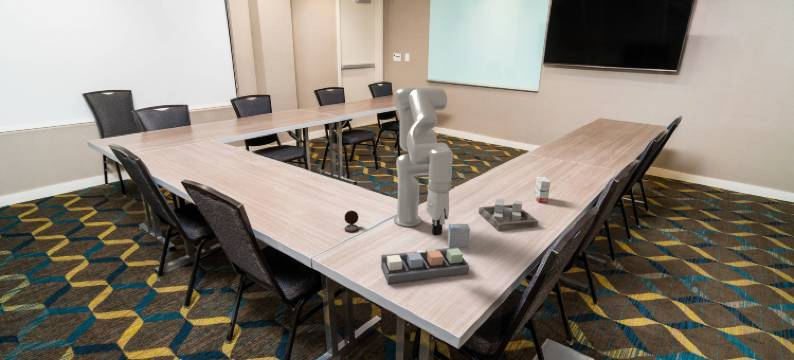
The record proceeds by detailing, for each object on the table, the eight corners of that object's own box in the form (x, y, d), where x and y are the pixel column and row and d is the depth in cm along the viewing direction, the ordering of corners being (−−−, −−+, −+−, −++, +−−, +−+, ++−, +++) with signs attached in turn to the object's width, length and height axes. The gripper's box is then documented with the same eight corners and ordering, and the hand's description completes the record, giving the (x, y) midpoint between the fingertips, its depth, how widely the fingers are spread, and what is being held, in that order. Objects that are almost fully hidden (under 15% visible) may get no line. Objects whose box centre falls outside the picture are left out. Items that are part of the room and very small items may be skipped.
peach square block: (427, 259, 146) (427, 251, 145) (438, 258, 147) (438, 250, 146) (430, 265, 142) (431, 257, 141) (442, 264, 143) (443, 256, 142)
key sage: (446, 257, 147) (446, 249, 146) (457, 255, 149) (458, 248, 147) (450, 263, 143) (451, 255, 142) (462, 262, 144) (462, 254, 143)
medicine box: (466, 242, 165) (468, 223, 162) (468, 247, 161) (470, 228, 158) (447, 242, 165) (448, 223, 162) (448, 247, 161) (450, 228, 158)
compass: (344, 233, 171) (344, 217, 168) (344, 225, 178) (344, 210, 176) (363, 232, 172) (363, 217, 169) (362, 224, 179) (362, 209, 177)
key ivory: (386, 264, 142) (386, 256, 141) (398, 262, 143) (399, 254, 142) (389, 270, 138) (389, 262, 137) (401, 269, 139) (402, 261, 138)
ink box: (547, 203, 208) (551, 181, 204) (538, 203, 208) (541, 181, 204) (542, 197, 216) (545, 176, 212) (533, 196, 216) (536, 176, 212)
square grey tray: (478, 213, 194) (479, 207, 193) (515, 209, 198) (515, 204, 197) (497, 231, 176) (498, 224, 175) (537, 227, 181) (538, 220, 180)
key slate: (407, 261, 144) (407, 253, 143) (418, 260, 145) (419, 252, 144) (410, 268, 140) (410, 260, 139) (422, 266, 141) (422, 258, 140)
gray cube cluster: (492, 223, 183) (494, 207, 181) (494, 213, 194) (495, 198, 192) (520, 227, 180) (522, 211, 178) (519, 216, 191) (521, 201, 189)
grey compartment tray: (381, 267, 146) (381, 254, 144) (456, 258, 153) (457, 246, 151) (387, 284, 136) (388, 270, 134) (468, 274, 143) (469, 261, 141)
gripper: (422, 178, 140) (420, 226, 146) (436, 193, 127) (433, 245, 132) (442, 177, 142) (439, 224, 148) (458, 191, 128) (454, 243, 134)
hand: (436, 234), depth 140 cm, fingers closed
